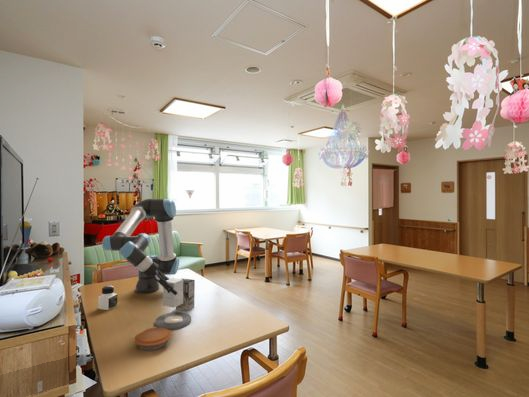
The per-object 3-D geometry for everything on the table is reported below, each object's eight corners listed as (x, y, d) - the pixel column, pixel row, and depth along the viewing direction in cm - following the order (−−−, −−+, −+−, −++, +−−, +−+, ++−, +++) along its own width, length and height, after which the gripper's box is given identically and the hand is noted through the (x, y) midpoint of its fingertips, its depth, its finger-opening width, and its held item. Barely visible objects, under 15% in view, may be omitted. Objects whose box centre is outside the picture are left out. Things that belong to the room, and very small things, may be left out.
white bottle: (108, 310, 161) (108, 289, 161) (97, 309, 163) (98, 288, 162) (117, 305, 168) (117, 285, 168) (107, 304, 170) (107, 284, 169)
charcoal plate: (167, 312, 159) (167, 310, 159) (197, 316, 156) (197, 314, 155) (147, 327, 142) (147, 324, 142) (180, 331, 138) (180, 329, 138)
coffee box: (194, 306, 168) (195, 279, 168) (188, 311, 162) (188, 282, 162) (181, 304, 171) (182, 278, 171) (175, 308, 165) (175, 281, 165)
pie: (128, 354, 118) (128, 342, 118) (142, 335, 134) (142, 325, 134) (165, 353, 119) (166, 341, 119) (175, 335, 135) (175, 324, 135)
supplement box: (183, 303, 150) (184, 279, 150) (173, 308, 143) (174, 283, 143) (172, 300, 153) (173, 277, 153) (162, 305, 146) (162, 281, 146)
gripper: (141, 267, 152) (171, 292, 159) (141, 278, 131) (176, 307, 138) (152, 256, 154) (182, 282, 161) (154, 266, 134) (188, 295, 140)
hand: (179, 294), depth 149 cm, fingers closed on supplement box, 10 cm apart
